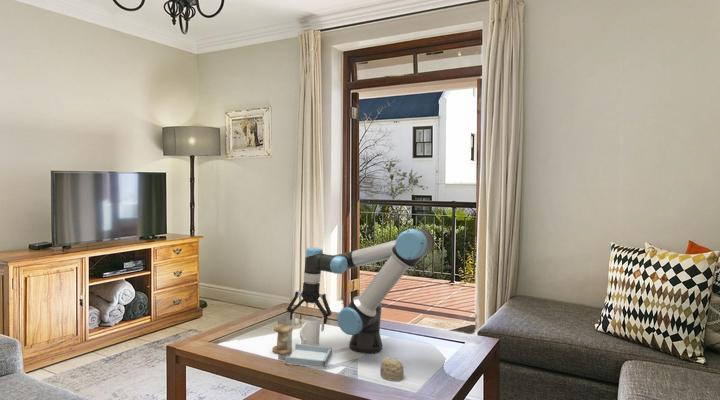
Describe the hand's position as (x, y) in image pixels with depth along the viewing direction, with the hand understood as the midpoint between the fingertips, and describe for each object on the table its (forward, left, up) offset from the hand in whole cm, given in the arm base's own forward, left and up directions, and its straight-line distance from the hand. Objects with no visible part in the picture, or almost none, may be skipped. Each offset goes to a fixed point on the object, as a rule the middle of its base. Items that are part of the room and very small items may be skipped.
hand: (307, 328), depth 202 cm
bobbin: (+9, +10, -8) cm, 15 cm away
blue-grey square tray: (-4, +16, -8) cm, 18 cm away
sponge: (-39, +24, -8) cm, 47 cm away
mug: (0, 0, -8) cm, 8 cm away
